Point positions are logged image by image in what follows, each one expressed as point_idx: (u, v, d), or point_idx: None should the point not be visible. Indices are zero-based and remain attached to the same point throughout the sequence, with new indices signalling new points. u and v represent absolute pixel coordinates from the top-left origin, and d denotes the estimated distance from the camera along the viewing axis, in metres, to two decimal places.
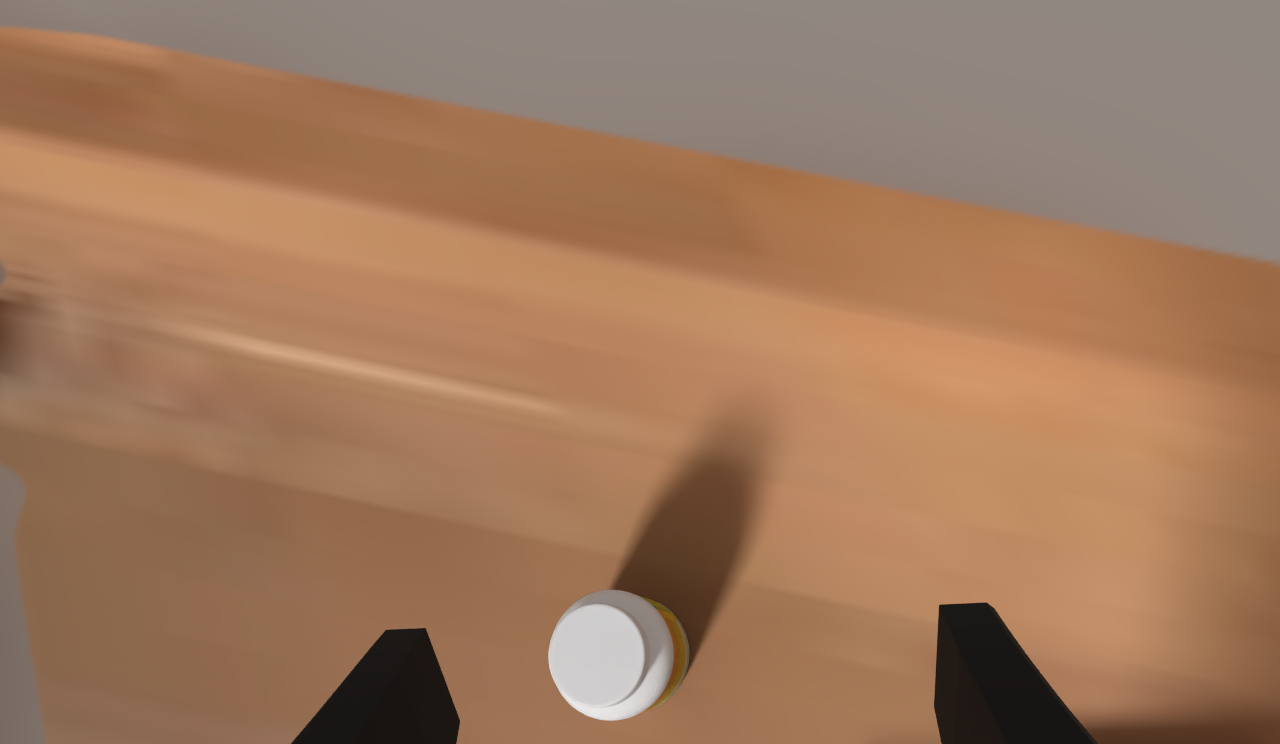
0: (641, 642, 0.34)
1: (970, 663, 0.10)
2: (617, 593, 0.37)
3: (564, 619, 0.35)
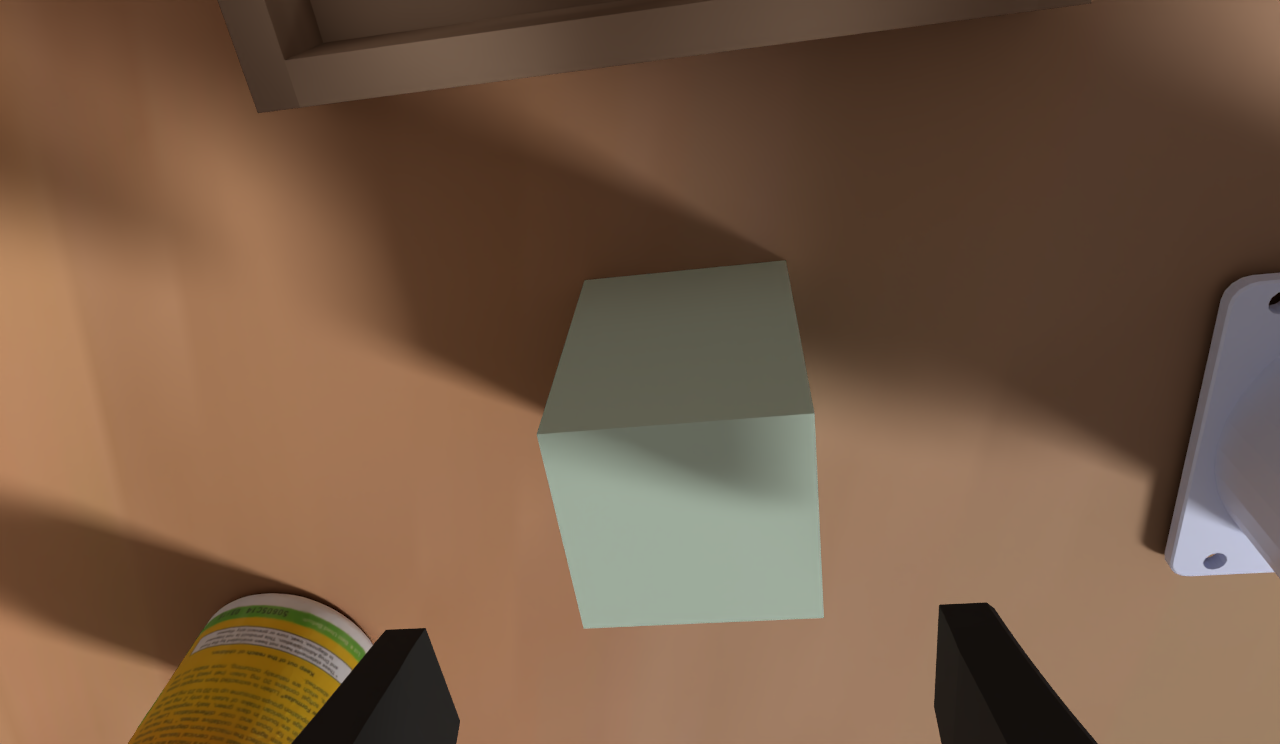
0: None
1: (970, 663, 0.10)
2: None
3: None
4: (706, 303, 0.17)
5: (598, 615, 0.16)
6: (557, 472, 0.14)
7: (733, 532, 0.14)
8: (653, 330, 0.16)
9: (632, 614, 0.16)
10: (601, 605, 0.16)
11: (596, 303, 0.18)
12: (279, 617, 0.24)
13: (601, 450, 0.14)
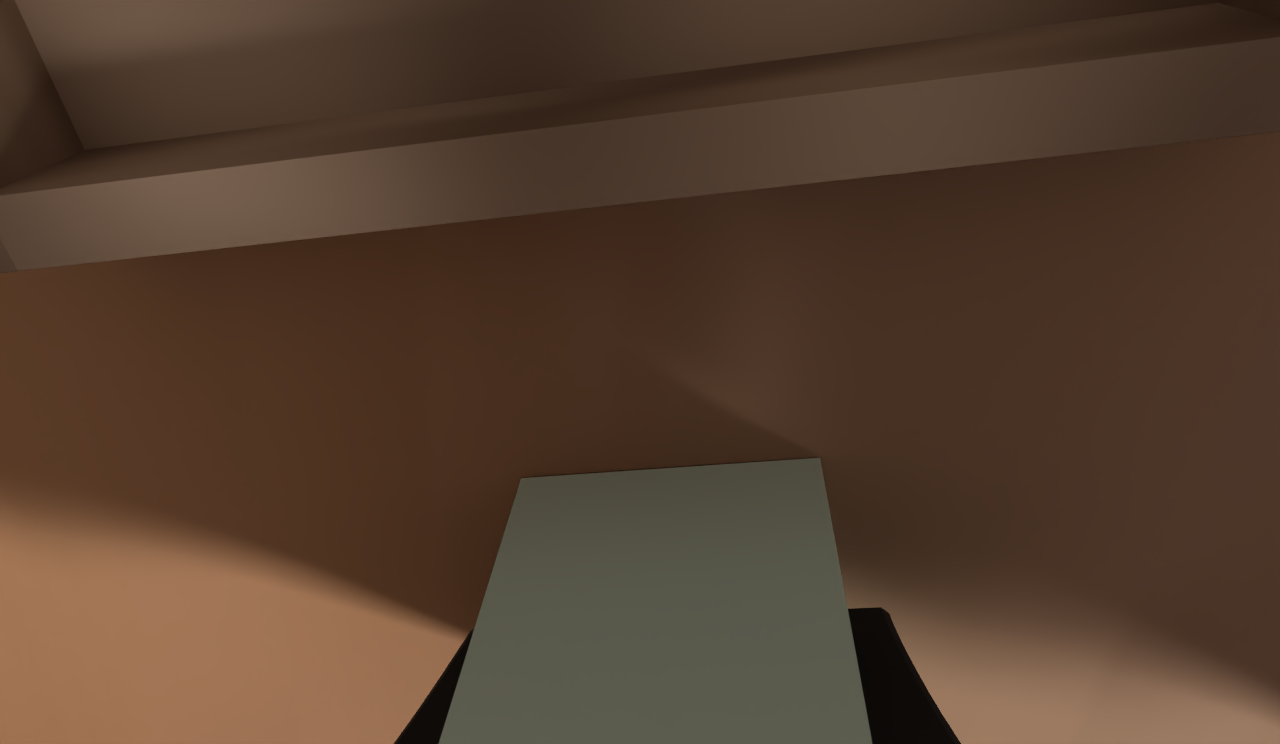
0: None
1: None
2: None
3: None
4: (700, 549, 0.11)
5: None
6: None
7: None
8: (615, 611, 0.10)
9: None
10: None
11: (533, 534, 0.12)
12: None
13: None
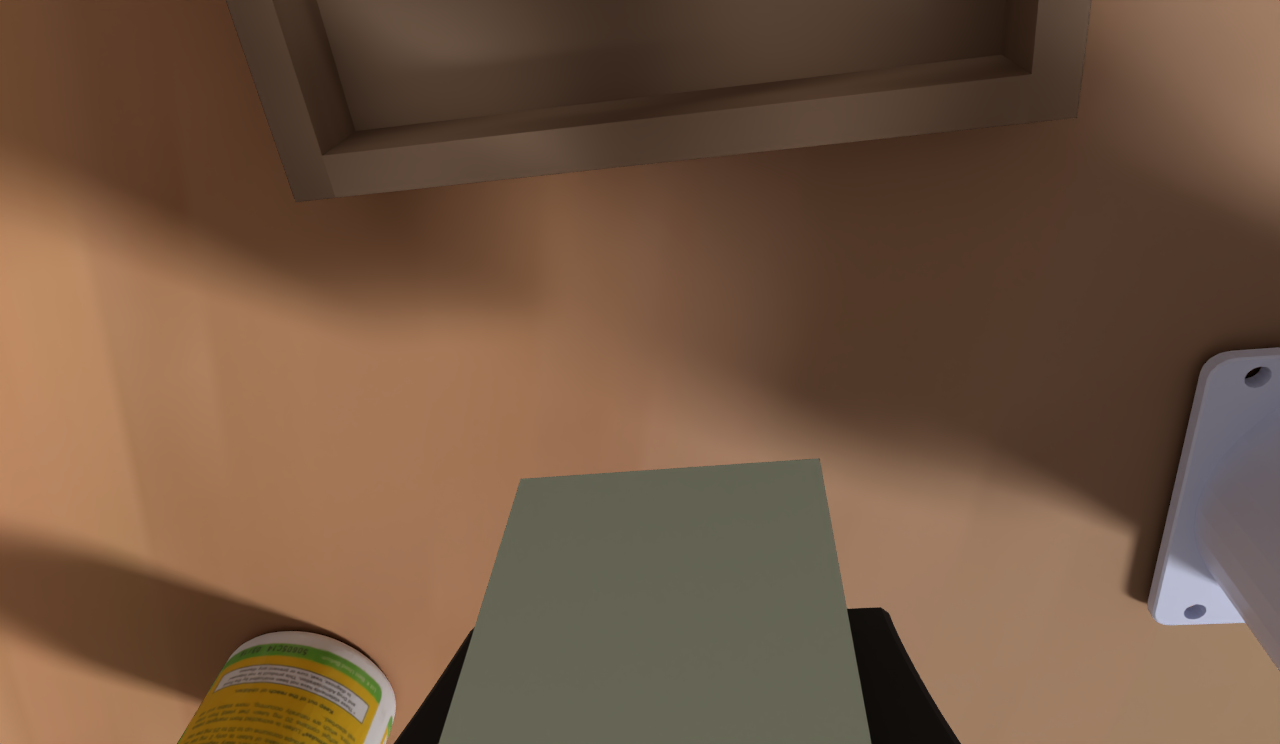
0: None
1: None
2: None
3: None
4: (700, 550, 0.11)
5: None
6: None
7: None
8: (615, 612, 0.10)
9: None
10: None
11: (532, 535, 0.12)
12: (299, 655, 0.25)
13: None
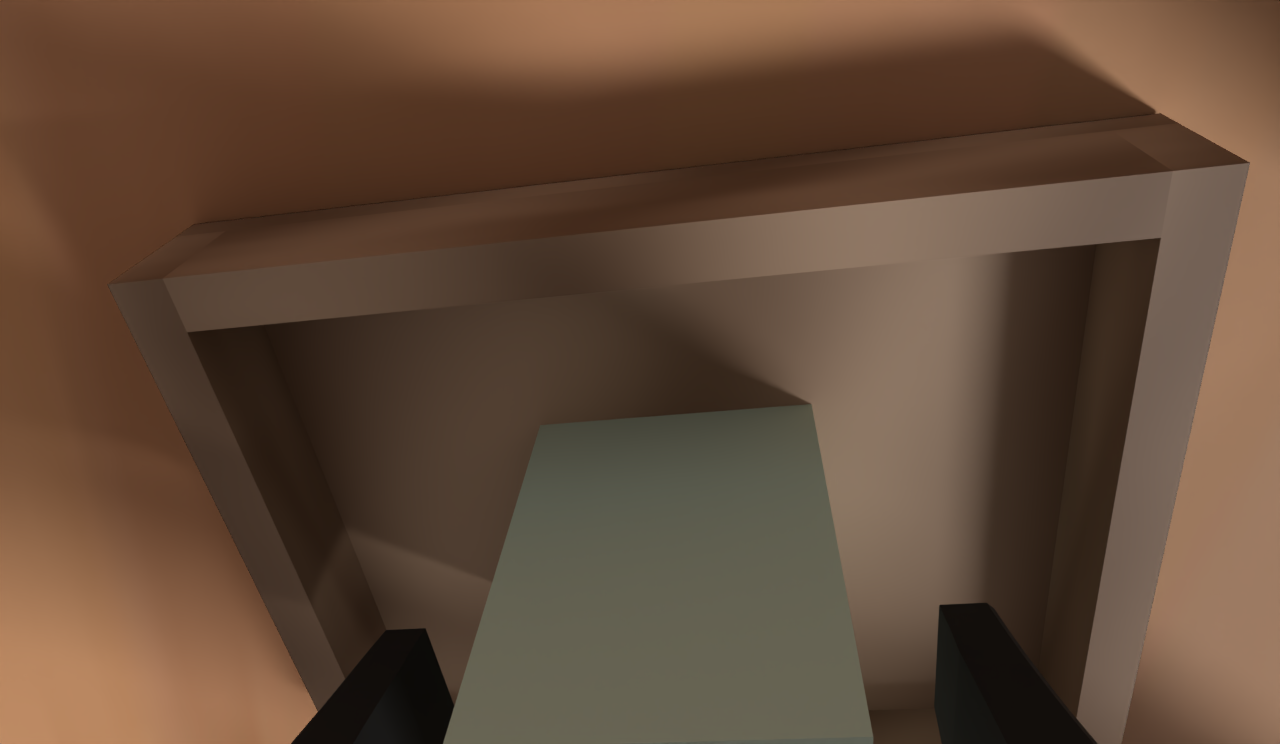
0: None
1: (970, 663, 0.10)
2: None
3: None
4: (703, 480, 0.12)
5: None
6: None
7: None
8: (628, 530, 0.11)
9: None
10: None
11: (552, 470, 0.13)
12: None
13: None
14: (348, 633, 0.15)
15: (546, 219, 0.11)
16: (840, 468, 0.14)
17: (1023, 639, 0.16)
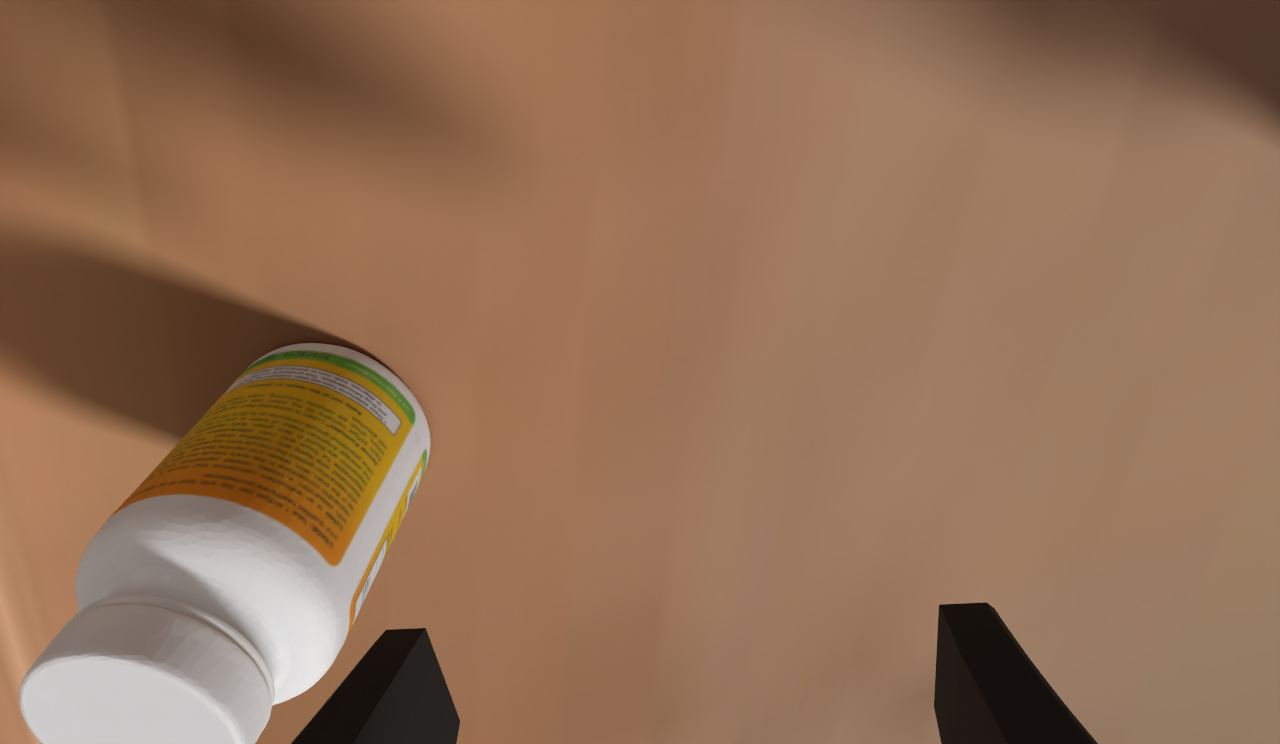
0: (63, 660, 0.14)
1: (970, 663, 0.10)
2: (80, 612, 0.17)
3: None
4: None
5: None
6: None
7: None
8: None
9: None
10: None
11: None
12: (320, 360, 0.21)
13: None
14: None
15: None
16: None
17: None
